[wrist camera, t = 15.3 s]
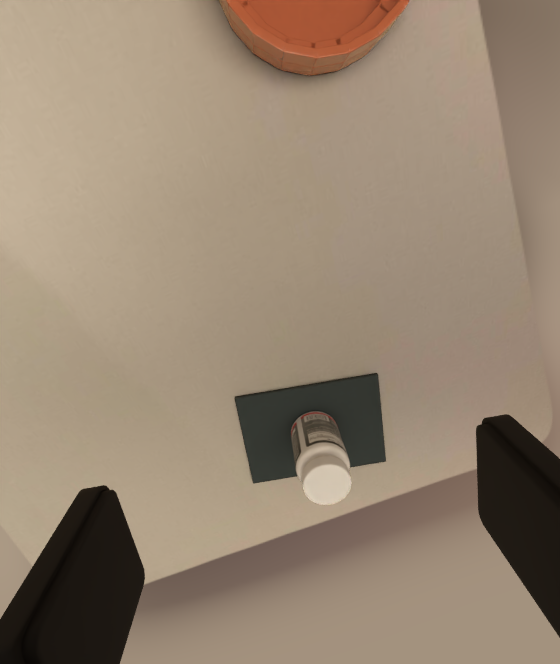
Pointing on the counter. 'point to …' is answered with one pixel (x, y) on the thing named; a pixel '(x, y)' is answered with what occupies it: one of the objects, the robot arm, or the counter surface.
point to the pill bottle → (320, 458)
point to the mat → (290, 403)
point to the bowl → (311, 30)
